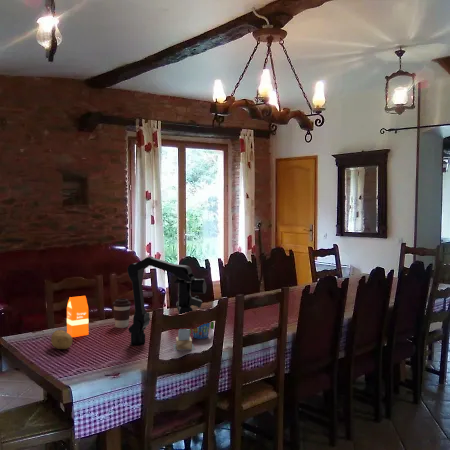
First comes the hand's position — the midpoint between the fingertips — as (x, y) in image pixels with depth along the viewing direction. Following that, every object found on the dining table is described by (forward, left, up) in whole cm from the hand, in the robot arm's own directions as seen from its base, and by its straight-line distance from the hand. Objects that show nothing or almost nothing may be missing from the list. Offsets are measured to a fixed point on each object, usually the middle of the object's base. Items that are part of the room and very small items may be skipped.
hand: (184, 324), depth 241 cm
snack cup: (+10, +17, -11) cm, 23 cm away
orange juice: (-53, +31, -11) cm, 63 cm away
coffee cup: (-31, +45, -11) cm, 56 cm away
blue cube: (0, 0, -7) cm, 7 cm away
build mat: (0, 0, -11) cm, 11 cm away
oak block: (0, 0, -11) cm, 11 cm away
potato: (-57, +6, -11) cm, 59 cm away
